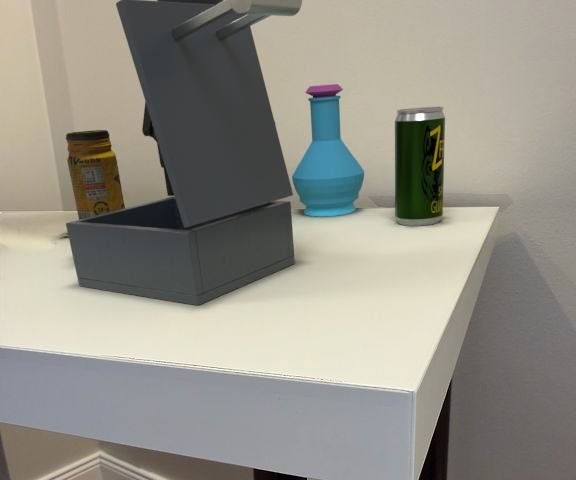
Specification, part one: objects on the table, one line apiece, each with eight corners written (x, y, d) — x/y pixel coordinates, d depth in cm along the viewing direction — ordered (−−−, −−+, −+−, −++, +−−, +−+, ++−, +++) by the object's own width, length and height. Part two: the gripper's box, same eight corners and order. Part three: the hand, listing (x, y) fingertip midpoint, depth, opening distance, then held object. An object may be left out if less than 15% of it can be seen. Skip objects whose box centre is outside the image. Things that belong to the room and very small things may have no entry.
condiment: (139, 222, 89) (123, 127, 84) (112, 236, 81) (93, 133, 76) (90, 224, 90) (71, 131, 85) (59, 238, 83) (37, 137, 78)
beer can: (390, 226, 74) (389, 111, 69) (400, 216, 79) (400, 108, 74) (438, 226, 72) (440, 108, 67) (446, 216, 77) (449, 105, 72)
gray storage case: (78, 286, 61) (65, 222, 58) (181, 251, 70) (173, 196, 68) (198, 305, 52) (188, 232, 50) (295, 263, 62) (290, 201, 60)
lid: (114, 3, 46) (202, -54, 40) (238, 9, 55) (322, -36, 50) (183, 228, 50) (271, 205, 44) (286, 197, 60) (368, 175, 54)
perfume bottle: (329, 202, 91) (323, 84, 85) (380, 207, 85) (378, 80, 79) (280, 214, 86) (270, 89, 80) (330, 221, 79) (324, 85, 73)
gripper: (91, 7, 76) (125, 197, 85) (253, -26, 63) (272, 204, 72) (139, 9, 82) (166, 188, 91) (297, -21, 68) (310, 192, 77)
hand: (213, 195), depth 81 cm, fingers open, 12 cm apart
